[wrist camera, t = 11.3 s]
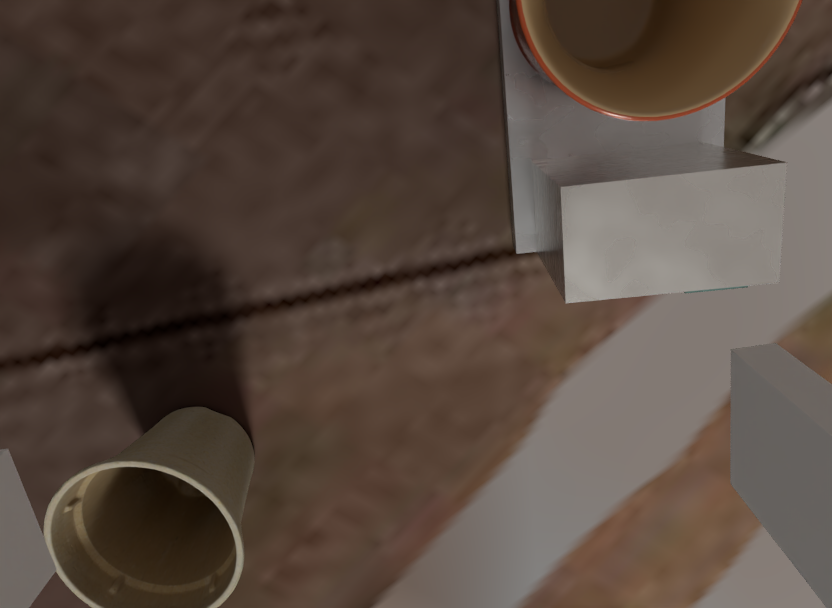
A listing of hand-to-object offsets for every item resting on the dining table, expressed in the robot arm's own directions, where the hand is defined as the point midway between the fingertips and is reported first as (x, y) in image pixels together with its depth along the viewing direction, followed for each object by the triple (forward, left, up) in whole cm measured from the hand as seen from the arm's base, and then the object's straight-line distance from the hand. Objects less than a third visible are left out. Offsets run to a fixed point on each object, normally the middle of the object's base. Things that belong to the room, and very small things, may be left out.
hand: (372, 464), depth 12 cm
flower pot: (-14, -13, -24) cm, 30 cm away
